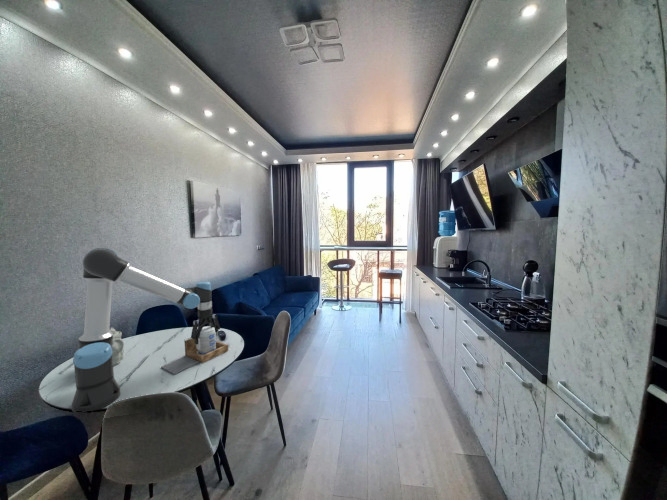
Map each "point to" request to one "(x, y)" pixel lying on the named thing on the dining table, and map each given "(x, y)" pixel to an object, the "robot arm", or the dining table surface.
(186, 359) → the mat
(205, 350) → the supplement tub
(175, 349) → the dining table surface
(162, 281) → the robot arm
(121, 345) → the beige lumpy upright piece
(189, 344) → the frame
